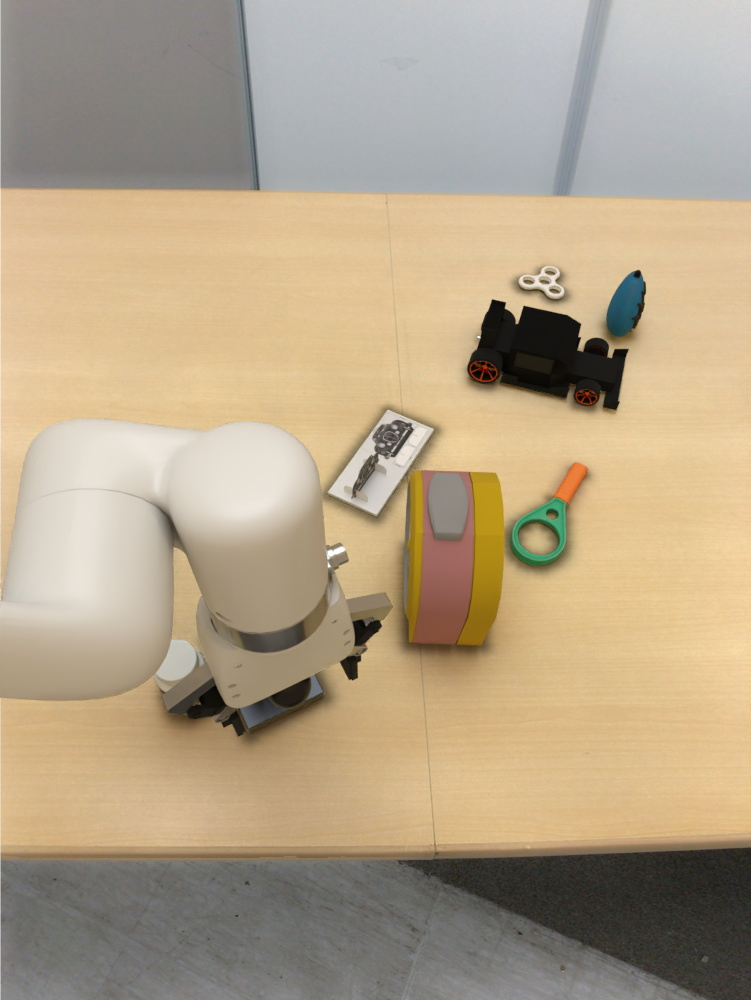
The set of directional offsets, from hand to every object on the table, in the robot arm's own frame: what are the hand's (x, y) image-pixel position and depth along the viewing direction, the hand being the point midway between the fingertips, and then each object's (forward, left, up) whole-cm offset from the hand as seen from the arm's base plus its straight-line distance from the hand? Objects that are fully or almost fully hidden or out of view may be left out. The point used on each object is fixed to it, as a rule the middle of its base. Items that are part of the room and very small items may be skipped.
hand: (291, 690), depth 59 cm
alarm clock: (+20, +8, -15) cm, 26 cm away
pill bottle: (-8, +10, -15) cm, 19 cm away
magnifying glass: (+37, +11, -15) cm, 41 cm away
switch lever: (0, +3, -3) cm, 4 cm away
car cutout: (+23, +27, -15) cm, 38 cm away
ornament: (+64, +33, -15) cm, 73 cm away
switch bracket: (0, +9, -14) cm, 17 cm away
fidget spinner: (+60, +45, -14) cm, 76 cm away
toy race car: (+50, +31, -15) cm, 60 cm away
